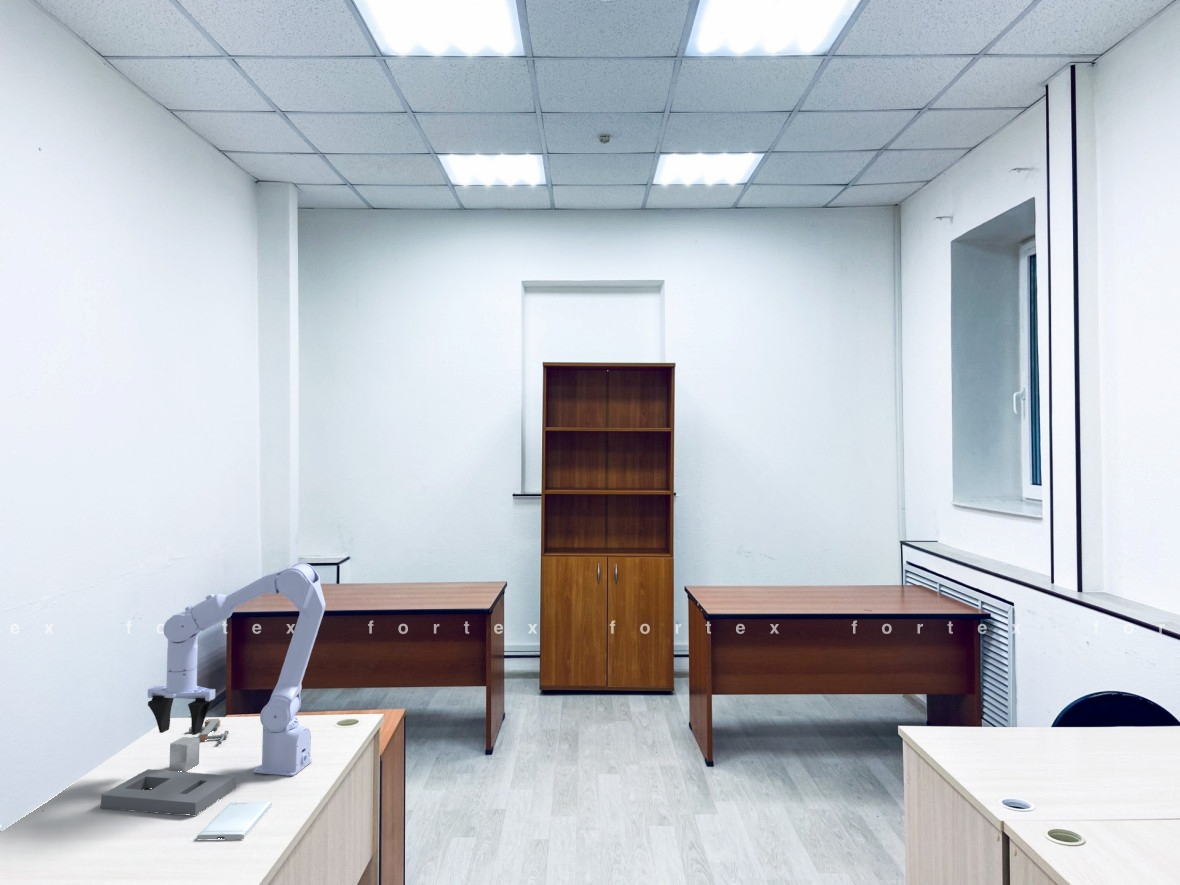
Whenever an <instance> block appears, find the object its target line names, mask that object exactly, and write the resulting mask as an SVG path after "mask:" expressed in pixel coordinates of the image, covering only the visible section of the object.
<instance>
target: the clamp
mask: <svg viewBox="0 0 1180 885" xmlns="http://www.w3.org/2000/svg"><path fill="white" fill-rule="evenodd" d="M207 719H208V720H207ZM207 719H205V720H204V726H202V730H201V732H200V733H199V736H192V737H191V738H200V741H205V740H207V739H209V740H216V739H219V740H217V741H216V744H217V745H218V744H220V745H222V741H223V740H227V739H226V738H228V734H230V733H229V730H225V731H224V733H220V734H217V735H216V734H215V735H214V734H212V736H208V734H209V733H210V732H212V731H218V728H219V727H220V726H221V719H220V718H207ZM188 733H189V734H190V733H191V734H192V731H191V726H190V727H189V728H188Z"/></svg>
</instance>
